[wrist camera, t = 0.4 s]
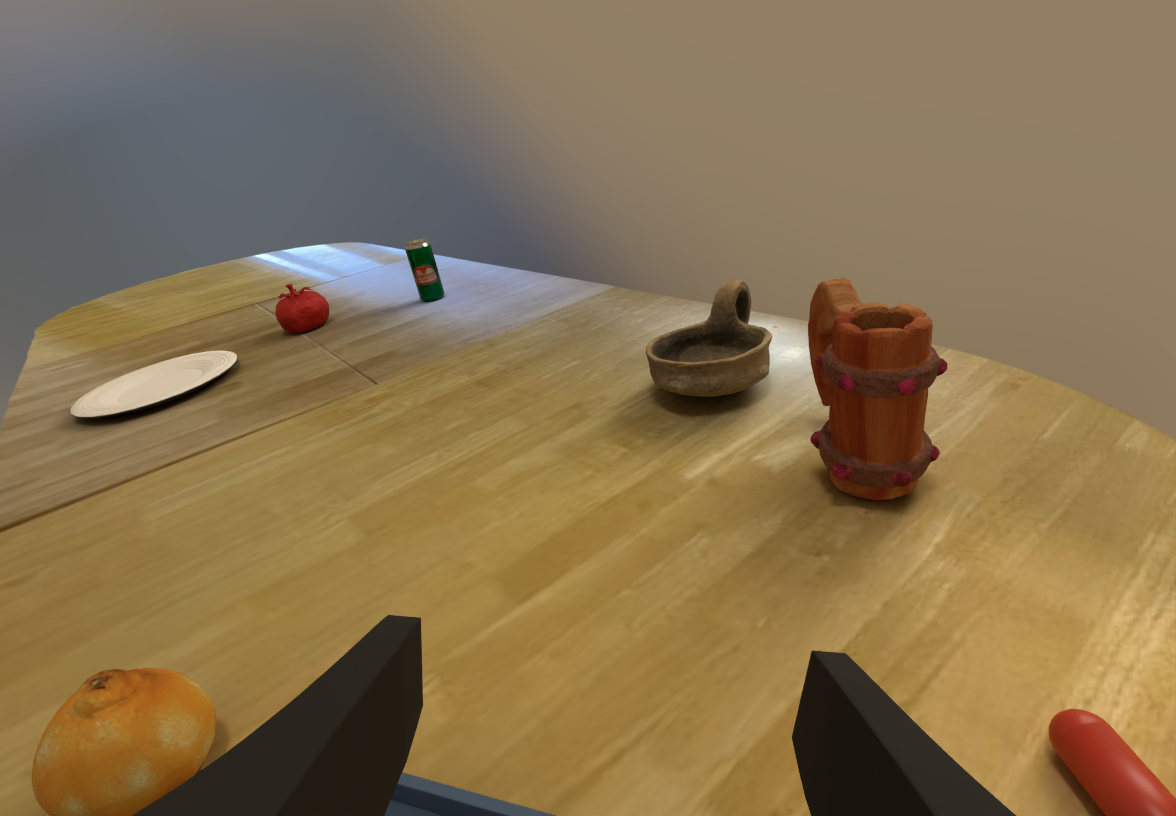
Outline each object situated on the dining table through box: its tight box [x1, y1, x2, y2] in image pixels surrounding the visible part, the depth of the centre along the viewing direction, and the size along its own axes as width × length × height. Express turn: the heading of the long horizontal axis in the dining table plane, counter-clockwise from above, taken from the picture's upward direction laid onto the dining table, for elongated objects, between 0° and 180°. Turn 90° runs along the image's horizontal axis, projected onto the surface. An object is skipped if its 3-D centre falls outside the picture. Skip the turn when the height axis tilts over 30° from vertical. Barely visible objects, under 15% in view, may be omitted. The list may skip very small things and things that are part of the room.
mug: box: [808, 278, 947, 500], centre depth 47 cm, size 15×8×15 cm, turn 4°
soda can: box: [405, 239, 444, 302], centre depth 123 cm, size 5×5×12 cm
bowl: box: [646, 280, 772, 397], centre depth 67 cm, size 14×18×10 cm
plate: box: [70, 351, 238, 418], centre depth 102 cm, size 25×25×2 cm
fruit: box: [32, 668, 216, 816], centre depth 34 cm, size 8×8×8 cm
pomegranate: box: [276, 284, 329, 333], centre depth 120 cm, size 10×10×9 cm
